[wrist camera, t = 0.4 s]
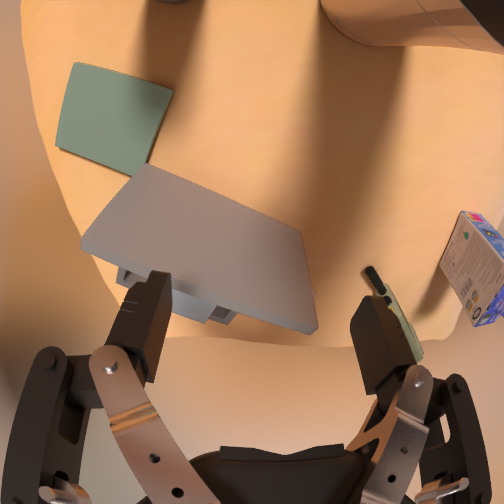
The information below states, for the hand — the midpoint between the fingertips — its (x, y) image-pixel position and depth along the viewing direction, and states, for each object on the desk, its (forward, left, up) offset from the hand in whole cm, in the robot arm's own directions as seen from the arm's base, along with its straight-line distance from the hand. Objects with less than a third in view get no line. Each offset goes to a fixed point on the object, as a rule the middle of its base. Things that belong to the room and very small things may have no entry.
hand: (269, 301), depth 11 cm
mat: (+3, -16, -19) cm, 25 cm away
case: (+15, -1, -19) cm, 24 cm away
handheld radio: (+11, +31, -19) cm, 38 cm away
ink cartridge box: (-5, +31, -19) cm, 36 cm away
